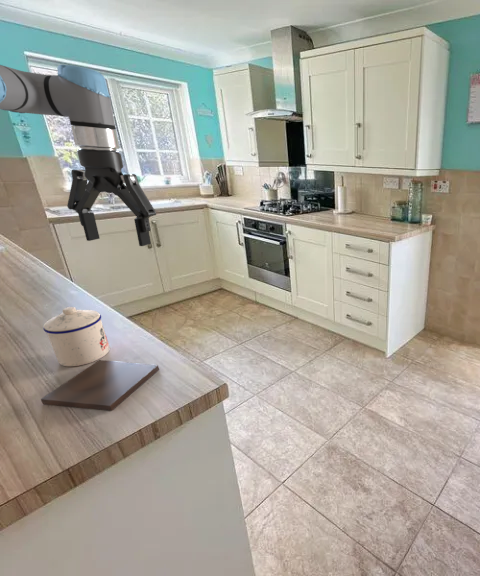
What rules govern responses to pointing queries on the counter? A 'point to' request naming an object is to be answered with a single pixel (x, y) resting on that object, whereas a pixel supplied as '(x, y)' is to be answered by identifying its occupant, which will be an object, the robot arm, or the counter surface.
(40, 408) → the counter surface
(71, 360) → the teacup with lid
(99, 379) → the serving board
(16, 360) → the counter surface
